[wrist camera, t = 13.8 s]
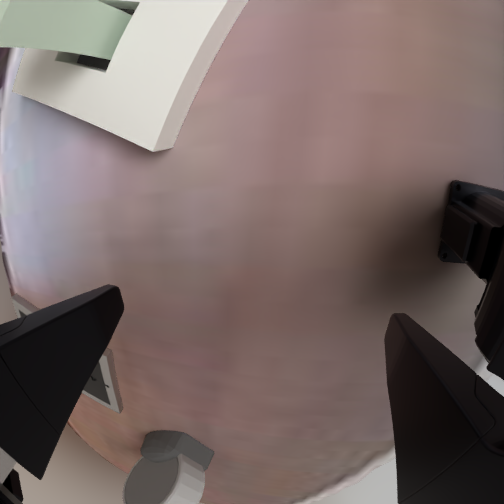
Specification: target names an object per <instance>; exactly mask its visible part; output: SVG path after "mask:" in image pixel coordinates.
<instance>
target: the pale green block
mask: <svg viewBox="0 0 504 504" xmlns="http://www.w3.org/2000/svg"><path fill="white" fill-rule="evenodd" d="M131 17H132V15H130V14H128V13H126V12H123V11H121V10H119V9H117V8H114V7H112V6H110V5H107V4H105V3H102V2H100V1H98V0H0V47H18V48H34V49H45V50H54V51H62V52H69V53H76V54H82V55H88V56H93V57H99V58H104V59H108V60H111V59H112V56H113V54H114V52H115V50H116V47H117V45H118V43H119V41H120V39H121V37H122V35H123V33H124V31H125V29H126V27H127V25H128V23H129V21H130V19H131Z"/></svg>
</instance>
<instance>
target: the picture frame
mask: <svg viewBox="0 0 504 504" xmlns="http://www.w3.org/2000/svg"><path fill="white" fill-rule="evenodd" d="M12 302H13V305H14V308H15V311H16V314H17V317H18V318H20V317H23V316H25V315H28V314H31V313H33V312H36V311H38V310H40V309H39V308H37V307H36V306H34V305H33V304H31V303H30V302H28V301H27V300H25V299H24V298H22V297H21V296H20V295H18V294H17V293H16V294H15V295H14V296H13V297H12ZM82 393H83V394H85V395H86V396H88V397H90V398H92V399H93V400H95V401H97V402H99V403H100V404H102V405H104V406H106V407H108V408H110V409H112V410H114V411H115V412H117V413H119V414H120V413H121V411H122V410H123V404H122V400H121V396H120V391H119V387H118V382H117V377H116V372H115V366H114V360H113V354H112V350H110V349H108V348H106V350H105V351H104V353H103V355H102V357H101V358H100V360H99V362H98V364H97V365H96V367H95V369H94V371H93V373H92V375H91V376H90V378H89V380H88V382H87V384H86V386H85V388H84V389H83V391H82Z"/></svg>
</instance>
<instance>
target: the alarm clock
mask: <svg viewBox="0 0 504 504" xmlns="http://www.w3.org/2000/svg"><path fill="white" fill-rule="evenodd" d="M141 454H142V457H141V458H140V459H139V460H138V461H137V462H136V464H135V465H134V466H133V468H132V469H131V471H130V473H129V474H128V476H127V479H126V481H125V484H124V489H123V502H124V504H198V503H199V501H200V499H201V497H202V495H203V490H204V486H205V473H204V471H205V470H206V469H207V468H208V466H209V464H210V462H211V459H212V457H213V455H214V451H212V450H211V449H209V448H208V447H206V446H204V445H203V444H201V443H200V442H198V441H197V440H195V439H194V438H192V437H191V436H189V435H188V434H186V433H184V432H178V431H167V430H161V431H153V432H150V433H148V434H147V435H146V437H145V440H144V442H143V445H142V447H141Z"/></svg>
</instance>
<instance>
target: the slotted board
mask: <svg viewBox="0 0 504 504" xmlns="http://www.w3.org/2000/svg"><path fill="white" fill-rule="evenodd" d="M98 1H100V2H102V3H105V4H107V5H110V6H112V7H114V8H122V9H132V10H135V12H134V14H133V16H132V17H131V19H130V21H129V23H128V25H127V27H126V29H125V31H124V33H123V35H122V37H121V39H120V41H119V43H118V45H117V47H116V50H115V52H114V54H113V56H112V59H111V61H110V63H109V66H108V68H107V70H103V69H100V68H96V67H92V66H88V65H84V64H80V63H77V61H78V59H79V56H80V54H76V53H69V52H62V51H54V50H45V49H34V48H25V51H24V54H23V57H22V59H21V62H20V66H19V69H18V72H17V75H16V79H15V82H14V86H13V90H12V92H14V93H17V94H20V95H22V96H25V97H28V98H30V99H33V100H35V101H38V102H40V103H43V104H45V105H48V106H50V107H53V108H55V109H58V110H60V111H63V112H65V113H67V114H70V115H72V116H74V117H77V118H79V119H82V120H84V121H86V122H88V123H91V124H93V125H95V126H98V127H100V128H102V129H104V130H107V131H109V132H111V133H113V134H115V135H118V136H120V137H122V138H124V139H126V140H129V141H131V142H133V143H135V144H137V145H139V146H141V147H144V148H146V149H148V150H150V151H152V152H155V151H160V150H165V149H170V148H173V146H174V143H175V141H176V138H177V136H178V134H179V131H180V129H181V127H182V124H183V122H184V120H185V117H186V115H187V113H188V111H189V109H190V106H191V104H192V102H193V100H194V98H195V96H196V94H197V92H198V89H199V87H200V85H201V83H202V81H203V79H204V77H205V75H206V73H207V71H208V70H209V68H210V66H211V64H212V62H213V60H214V58H215V56H216V54H217V53H218V51H219V49H220V47H221V45H222V44H223V42H224V40H225V38H226V37H227V35H228V33H229V31H230V30H231V28H232V26H233V25H234V23H235V21H236V20H237V18H238V17H239V15H240V13H241V12H242V10H243V9H244V7H245V5H246V4H247V2H248V1H249V0H98Z"/></svg>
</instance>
